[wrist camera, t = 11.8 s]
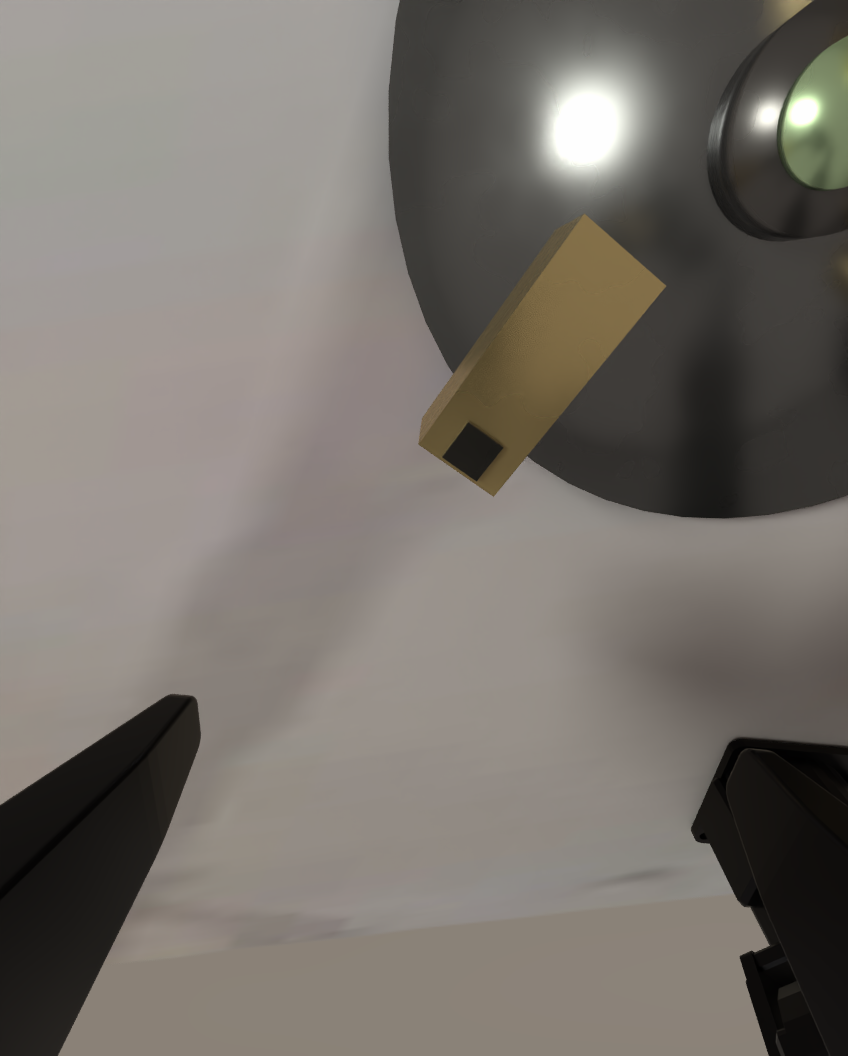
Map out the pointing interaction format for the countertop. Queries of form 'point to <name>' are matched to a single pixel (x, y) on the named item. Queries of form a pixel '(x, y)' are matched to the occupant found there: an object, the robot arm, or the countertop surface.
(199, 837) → the countertop surface
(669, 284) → the levelling plate
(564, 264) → the knob
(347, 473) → the countertop surface
